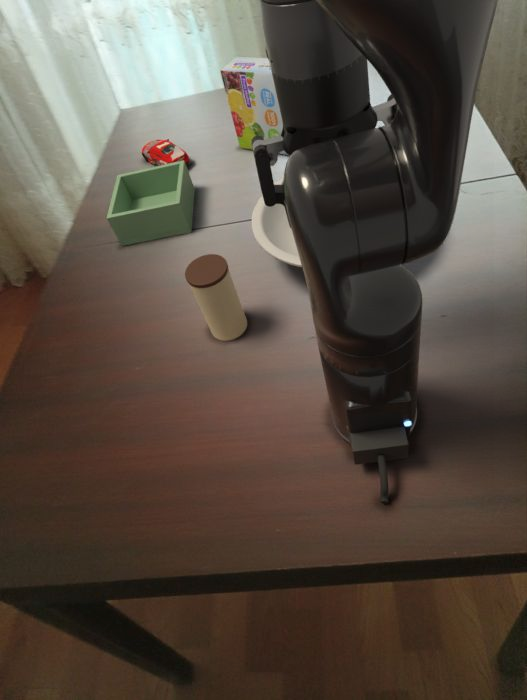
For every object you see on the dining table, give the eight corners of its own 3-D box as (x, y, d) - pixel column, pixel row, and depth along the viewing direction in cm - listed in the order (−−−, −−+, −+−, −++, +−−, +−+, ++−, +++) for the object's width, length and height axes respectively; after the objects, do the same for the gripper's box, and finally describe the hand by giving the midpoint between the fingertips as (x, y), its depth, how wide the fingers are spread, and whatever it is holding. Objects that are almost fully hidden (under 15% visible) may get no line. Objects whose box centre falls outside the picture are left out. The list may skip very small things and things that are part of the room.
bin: (191, 232, 84) (179, 202, 80) (121, 246, 86) (106, 218, 82) (194, 189, 92) (184, 160, 88) (131, 202, 94) (117, 174, 89)
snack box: (349, 146, 90) (341, 59, 78) (334, 164, 88) (325, 76, 76) (253, 133, 100) (234, 54, 88) (238, 149, 98) (216, 69, 86)
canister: (248, 338, 67) (227, 280, 59) (210, 344, 68) (183, 288, 60) (247, 308, 71) (227, 250, 62) (211, 315, 71) (186, 258, 63)
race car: (140, 158, 104) (132, 141, 100) (161, 146, 105) (154, 128, 102) (173, 179, 96) (165, 160, 93) (195, 165, 97) (188, 146, 94)
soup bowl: (420, 302, 65) (422, 265, 60) (245, 301, 72) (234, 267, 67) (422, 189, 79) (424, 151, 73) (276, 197, 85) (268, 163, 80)
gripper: (234, 99, 37) (280, 259, 49) (424, 38, 36) (422, 219, 48) (224, 60, 42) (268, 215, 54) (392, 4, 40) (397, 177, 53)
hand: (340, 217), depth 51 cm, fingers open, 8 cm apart
